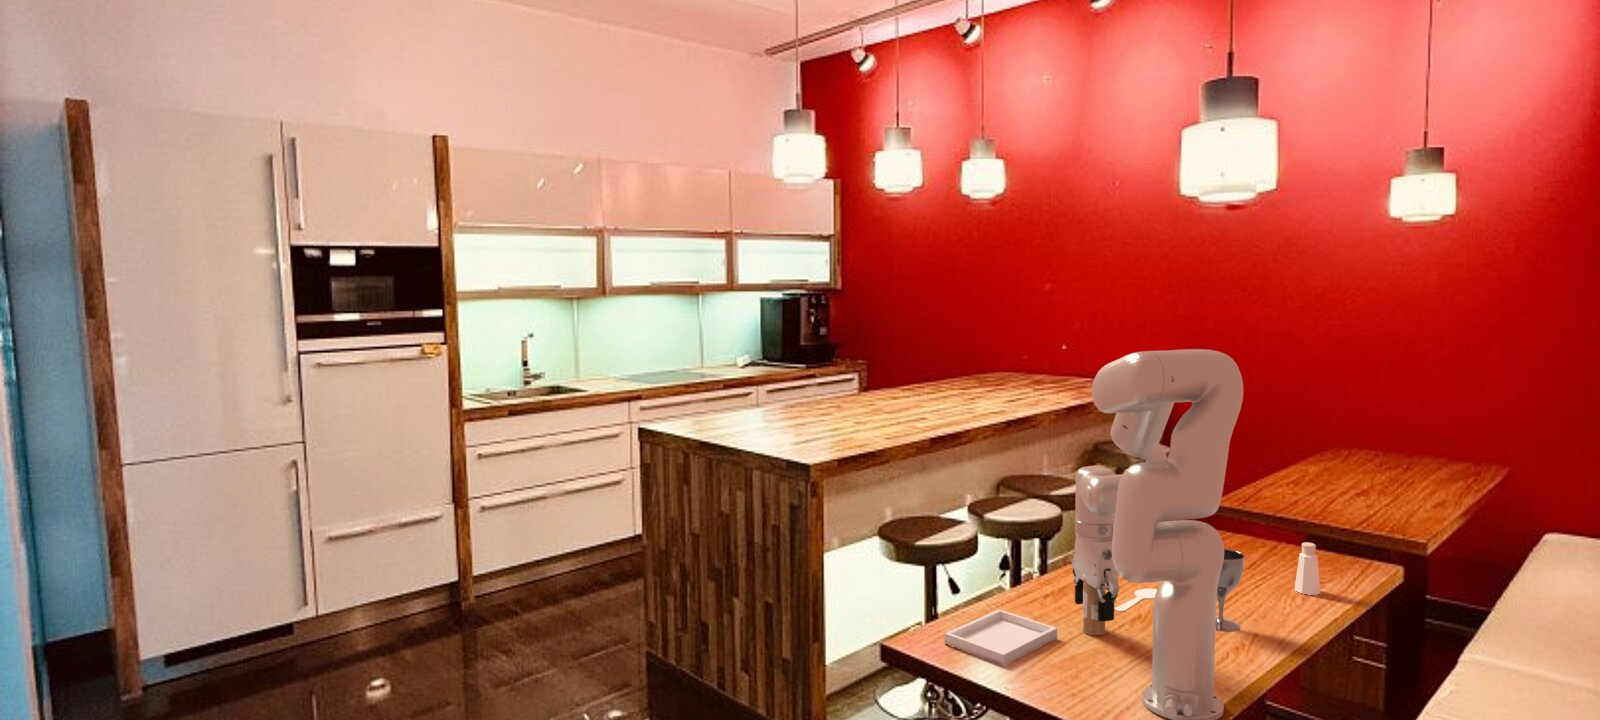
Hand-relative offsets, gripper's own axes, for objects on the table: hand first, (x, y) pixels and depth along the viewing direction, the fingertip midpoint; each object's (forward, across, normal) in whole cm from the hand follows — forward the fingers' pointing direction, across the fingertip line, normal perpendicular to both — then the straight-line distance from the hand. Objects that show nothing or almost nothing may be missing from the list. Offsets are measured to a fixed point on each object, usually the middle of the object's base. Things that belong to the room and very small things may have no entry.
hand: (1093, 611), depth 180 cm
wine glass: (+4, -3, -27) cm, 27 cm away
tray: (+4, 0, +20) cm, 20 cm away
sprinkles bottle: (+4, 0, 0) cm, 4 cm away
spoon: (+5, +14, -18) cm, 23 cm away
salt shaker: (+5, +9, -57) cm, 58 cm away
